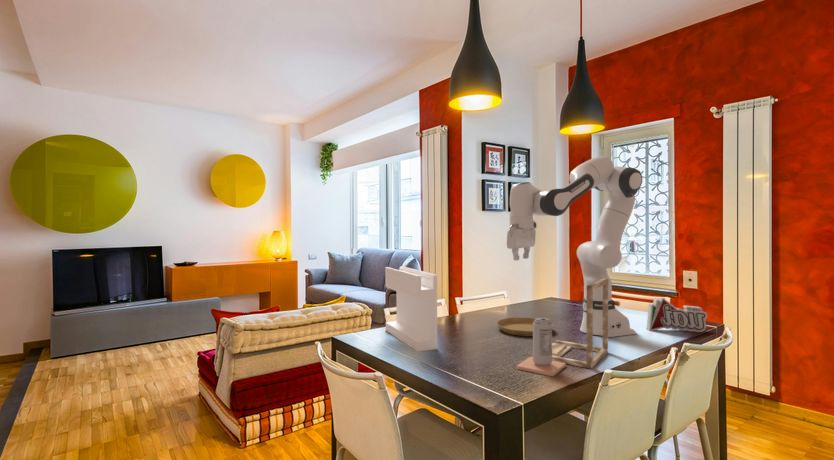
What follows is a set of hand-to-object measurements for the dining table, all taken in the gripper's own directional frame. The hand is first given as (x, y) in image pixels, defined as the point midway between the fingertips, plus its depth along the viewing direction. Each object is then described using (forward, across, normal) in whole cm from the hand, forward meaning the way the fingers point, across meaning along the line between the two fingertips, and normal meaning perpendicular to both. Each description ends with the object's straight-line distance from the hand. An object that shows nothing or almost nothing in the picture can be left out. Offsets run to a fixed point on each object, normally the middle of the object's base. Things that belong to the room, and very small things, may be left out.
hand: (521, 259), depth 170 cm
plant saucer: (+34, +21, +7) cm, 40 cm away
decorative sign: (+34, +59, -47) cm, 82 cm away
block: (+33, -19, +40) cm, 56 cm away
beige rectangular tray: (+33, -3, -14) cm, 36 cm away
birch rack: (+33, -3, -21) cm, 39 cm away
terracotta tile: (+33, -23, -16) cm, 43 cm away
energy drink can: (+32, -22, -16) cm, 43 cm away
